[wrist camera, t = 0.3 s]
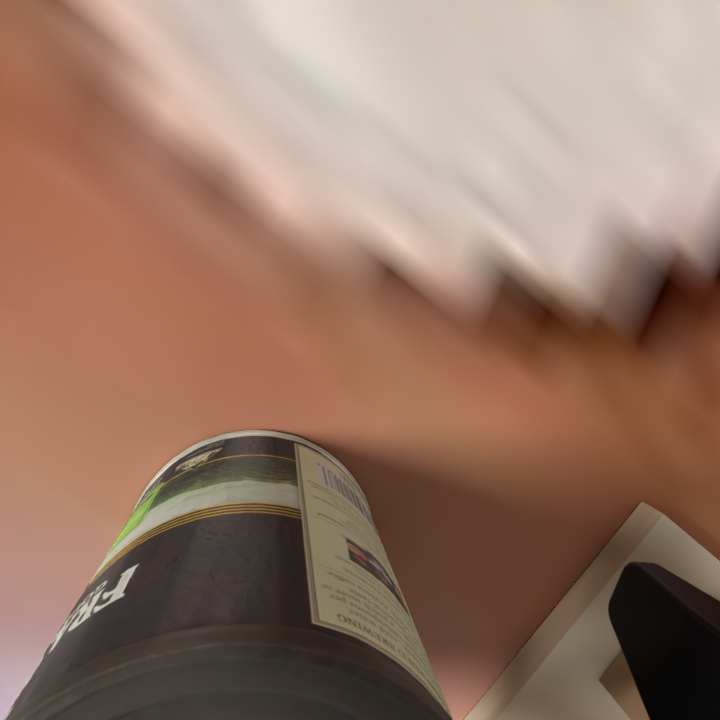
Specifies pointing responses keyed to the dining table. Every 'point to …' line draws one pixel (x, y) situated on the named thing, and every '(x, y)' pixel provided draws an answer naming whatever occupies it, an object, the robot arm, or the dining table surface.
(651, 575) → the robot arm
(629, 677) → the gauge carriage
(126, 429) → the dining table surface
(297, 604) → the coffee can
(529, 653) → the base
